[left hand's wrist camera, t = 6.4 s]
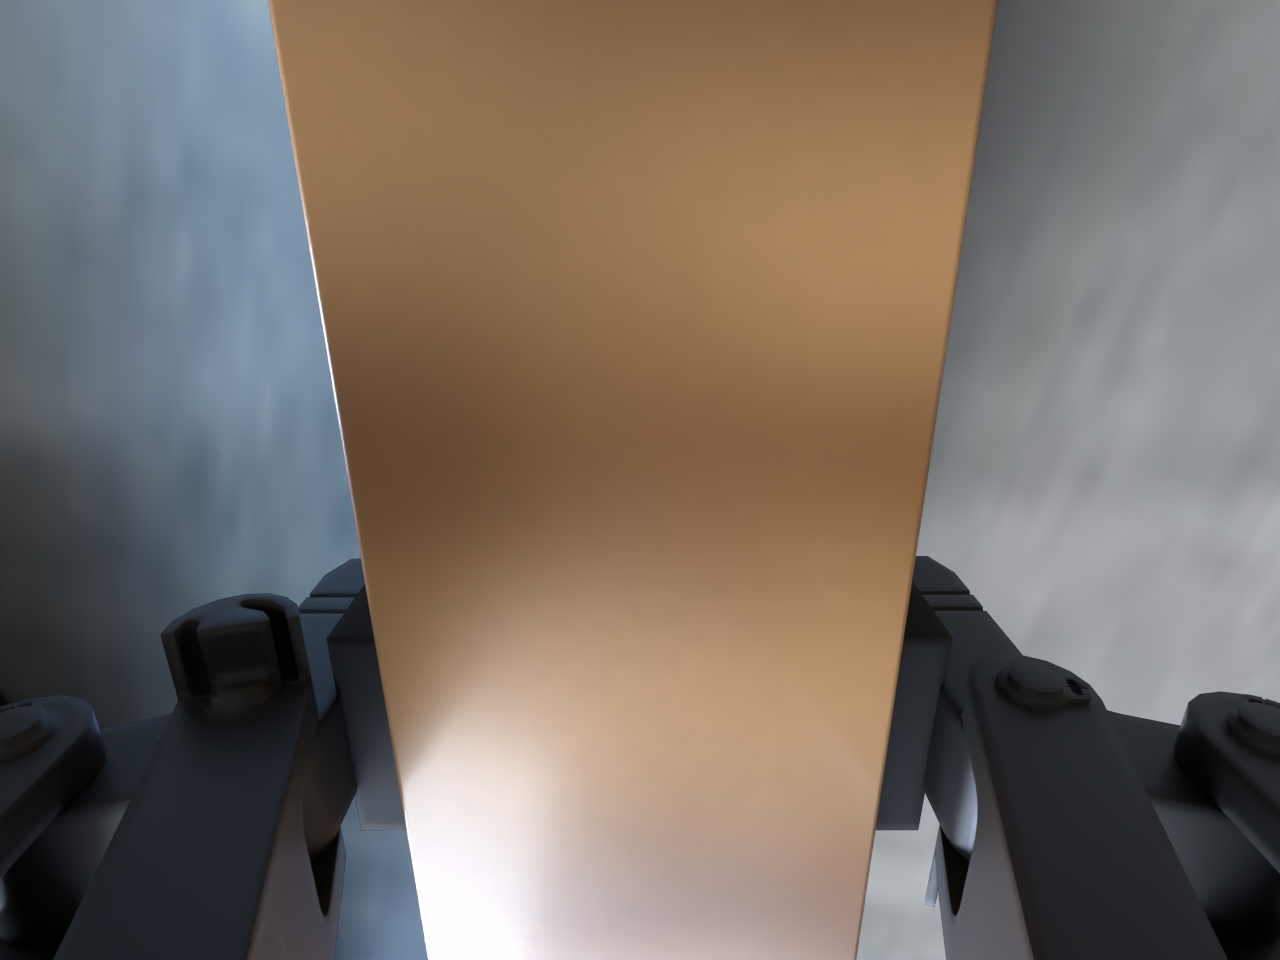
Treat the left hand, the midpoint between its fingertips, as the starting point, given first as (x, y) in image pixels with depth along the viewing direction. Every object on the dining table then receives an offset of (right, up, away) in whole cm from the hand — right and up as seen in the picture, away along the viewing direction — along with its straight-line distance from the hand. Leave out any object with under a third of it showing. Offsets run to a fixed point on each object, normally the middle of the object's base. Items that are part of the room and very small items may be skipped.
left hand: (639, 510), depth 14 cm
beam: (0, +23, -9) cm, 25 cm away
